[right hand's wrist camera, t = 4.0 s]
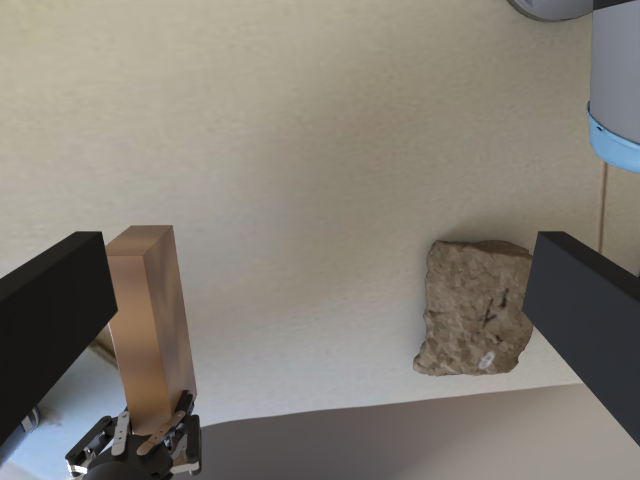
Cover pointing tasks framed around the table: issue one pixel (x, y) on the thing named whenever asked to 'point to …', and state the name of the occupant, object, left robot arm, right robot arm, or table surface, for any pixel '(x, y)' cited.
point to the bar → (149, 325)
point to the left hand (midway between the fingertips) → (166, 395)
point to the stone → (474, 308)
